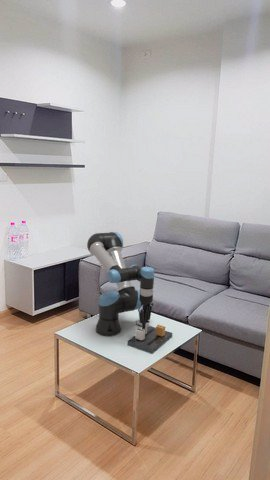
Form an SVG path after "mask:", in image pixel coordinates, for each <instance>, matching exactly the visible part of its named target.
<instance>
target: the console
mask: <svg viewBox="0 0 270 480" xmlns="http://www.w3.org/2000/svg"><path fill="white" fill-rule="evenodd" d="M172 337H173V332H172V331H171V332H170V331H168V330H165V335H164V336H159V335H156V327H154V326H153V325H147V334H145V339H143V340H139V339H136V338H135V335H134V336H132V337H131V338H130V339H129V340H127V346H130V347H131V348H136V349H139V350H140V351H144V352H146V353H149V354H154V353H155V352H156V351H157V350H159V349H160V348H161V347H163V345H164V344H165V343H167V342H168V341H169V340H170V339H171V338H172Z"/></svg>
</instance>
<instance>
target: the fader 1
mask: <svg viewBox="0 0 270 480" xmlns="http://www.w3.org/2000/svg"><path fill="white" fill-rule="evenodd" d="M134 336H135V338H136V339H139V340H143V339H145V330H143V329H142V328H139V327H138V328H136V329H135V334H134Z"/></svg>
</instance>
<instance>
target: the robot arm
mask: <svg viewBox="0 0 270 480" xmlns="http://www.w3.org/2000/svg"><path fill="white" fill-rule="evenodd" d="M86 244H87V245H86V247H87V250H88V251H89V253H90V255H92V256H94V257H95V258H96V260H98V262H99V264H101V266H102V267H103V268H104V270H105V271H106V272H107V275H106V277H107V280H108V282H109V283H110V284H116V286H117V291H115V290H114V291H113V290H108V291H105V292H103V293H101V295H100V296H99V300H98V304H99V305H98V306H99V307H98V320H97V322H96V325H95V332H96V333H97V334H98V335H101V336H104V337H113V336H117V335H118V334H120V333H121V332H122V325H121V324H120V323H121V321H120V319H119V314H122V313H126V312H132V311H133V312H134V311H135V310H137V311H138V317H139V319H138V320H140V323H142V326H141V329H143V330H145V334H147V327H148V325H147V324H148V323H149V324H150V320H151V315H152V309H153V306H154V303H153V299H154V296H153V295H154V281H155V269H154V268H153V267H150V266H142V267H141V266H139V265H138V264H131V265H130V266H129V267H126V264H125V262H124V258H123V256H122V253H121V252H122V250H123V248H124V239H123V237H122V235H121V233H119V232H116V231H109V232H95V233H94V234H91V236H90V237H89V238H88V240H87V243H86ZM131 281H137V282H139V290H137V289H136V288H135V286H134V285H132V283H131ZM140 306H141V308H140ZM139 308H140V309H139Z"/></svg>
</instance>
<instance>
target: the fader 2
mask: <svg viewBox="0 0 270 480" xmlns="http://www.w3.org/2000/svg"><path fill="white" fill-rule="evenodd" d="M155 328H156V335H159V336H164V335H165V331H166V326H164V325H161V324H157V325H156V327H155Z"/></svg>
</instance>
